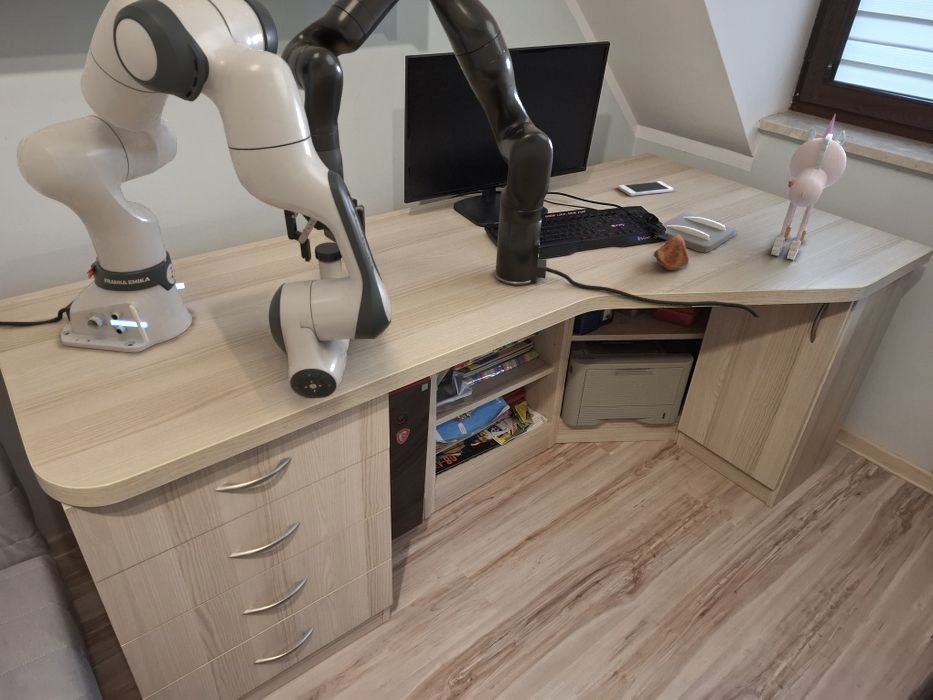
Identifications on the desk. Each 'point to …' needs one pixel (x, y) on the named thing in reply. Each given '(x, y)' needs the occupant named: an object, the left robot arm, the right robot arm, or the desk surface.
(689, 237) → the light switch
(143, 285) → the left robot arm
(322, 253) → the lid
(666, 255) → the fossil
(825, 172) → the toy
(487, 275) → the desk surface
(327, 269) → the beige cylindrical bottle
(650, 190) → the smartphone
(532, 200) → the right robot arm
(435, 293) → the desk surface
